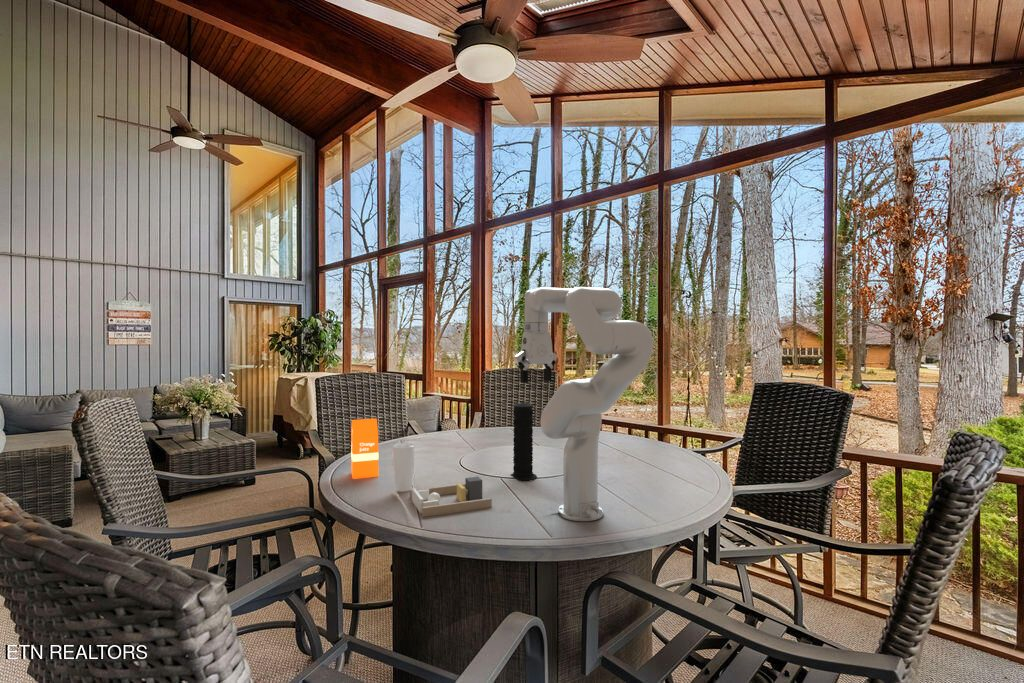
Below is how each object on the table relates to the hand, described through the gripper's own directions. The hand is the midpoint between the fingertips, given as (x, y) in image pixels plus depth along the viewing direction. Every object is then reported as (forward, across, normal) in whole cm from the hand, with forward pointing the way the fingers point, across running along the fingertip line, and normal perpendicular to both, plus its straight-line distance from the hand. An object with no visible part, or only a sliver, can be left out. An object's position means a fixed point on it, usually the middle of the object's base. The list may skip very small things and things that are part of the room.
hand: (536, 381), depth 163 cm
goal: (+35, -36, +7) cm, 51 cm away
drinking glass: (+36, -34, +25) cm, 55 cm away
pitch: (+35, -29, +5) cm, 46 cm away
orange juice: (+36, -37, +51) cm, 73 cm away
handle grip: (+36, +6, +14) cm, 39 cm away
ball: (+31, -32, +6) cm, 45 cm away
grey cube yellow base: (+34, -23, +3) cm, 42 cm away
